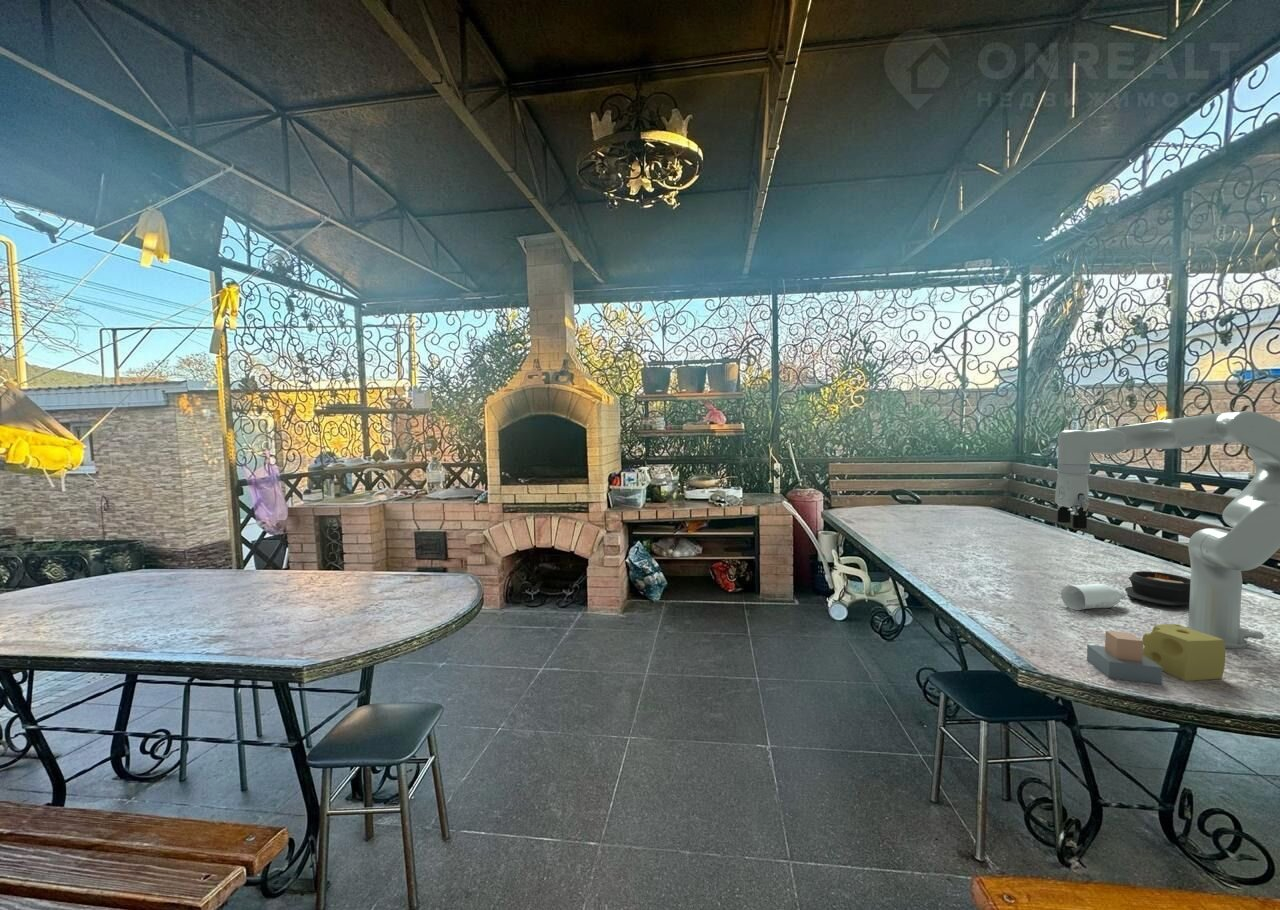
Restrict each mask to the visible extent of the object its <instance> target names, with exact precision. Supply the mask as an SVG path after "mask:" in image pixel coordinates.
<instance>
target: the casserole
mask: <svg viewBox="0 0 1280 910" xmlns="http://www.w3.org/2000/svg"><path fill="white" fill-rule="evenodd" d="M1128 580H1129V581H1130V584H1131V586H1128V587H1126V588H1124V591H1125V592H1126V593H1127V596H1128V597H1129V598H1132V599H1135V600H1136V599H1137V600H1139V601H1144V602H1148V603H1154V604H1157V605H1158V604H1159V605H1164V606H1175V607H1177V606H1178V607H1179V606H1182V607H1183V606H1189V601H1190V582H1191V578H1189V577H1185V576H1181V575H1177V574H1172V573H1166V572H1158V571H1149V570H1148V571H1146V570H1144V571H1142V570H1141V571H1134V572H1132V574H1131V575H1130V576H1129V577H1128Z"/></svg>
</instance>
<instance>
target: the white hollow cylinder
mask: <svg viewBox="0 0 1280 910" xmlns="http://www.w3.org/2000/svg"><path fill="white" fill-rule="evenodd" d="M1059 594H1060V596H1061V597H1060V598H1061V600H1062V602H1063V604H1064V605H1065V606H1066V607H1067V608H1069V609H1072V610H1075V611H1080V610H1087V609H1089V610H1090V609H1109V608H1110V609H1111V607H1114V606H1115V605H1118V604H1119V603H1120V602H1121V600H1124V599H1126V594H1125V592H1124V591H1123V590H1121V589H1120V588H1119V587H1116V588H1115V587H1114V586H1112V585H1108V584H1105V583H1088V584H1078V585H1076V584H1074V585H1073V584H1072V585H1071V584H1070V585H1064V586H1063V587H1062V589H1061V590H1060V593H1059Z"/></svg>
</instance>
